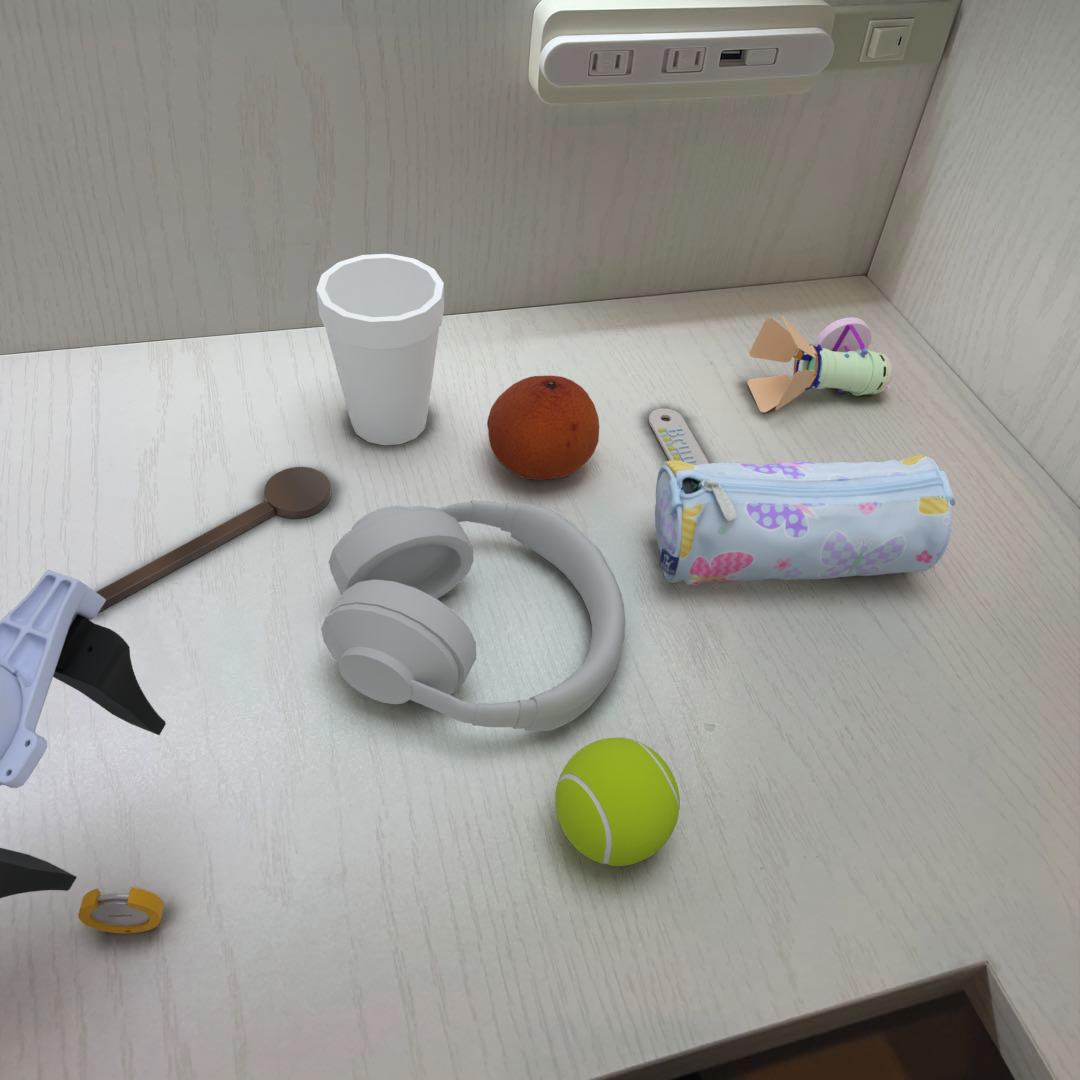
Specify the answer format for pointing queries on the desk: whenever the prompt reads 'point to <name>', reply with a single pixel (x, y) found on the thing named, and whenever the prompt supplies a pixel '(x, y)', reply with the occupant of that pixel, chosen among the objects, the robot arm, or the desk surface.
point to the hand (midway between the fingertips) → (104, 797)
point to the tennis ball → (617, 801)
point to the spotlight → (819, 362)
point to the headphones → (438, 632)
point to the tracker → (121, 911)
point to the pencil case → (800, 519)
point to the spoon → (234, 527)
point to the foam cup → (383, 341)
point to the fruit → (543, 427)
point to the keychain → (676, 437)
